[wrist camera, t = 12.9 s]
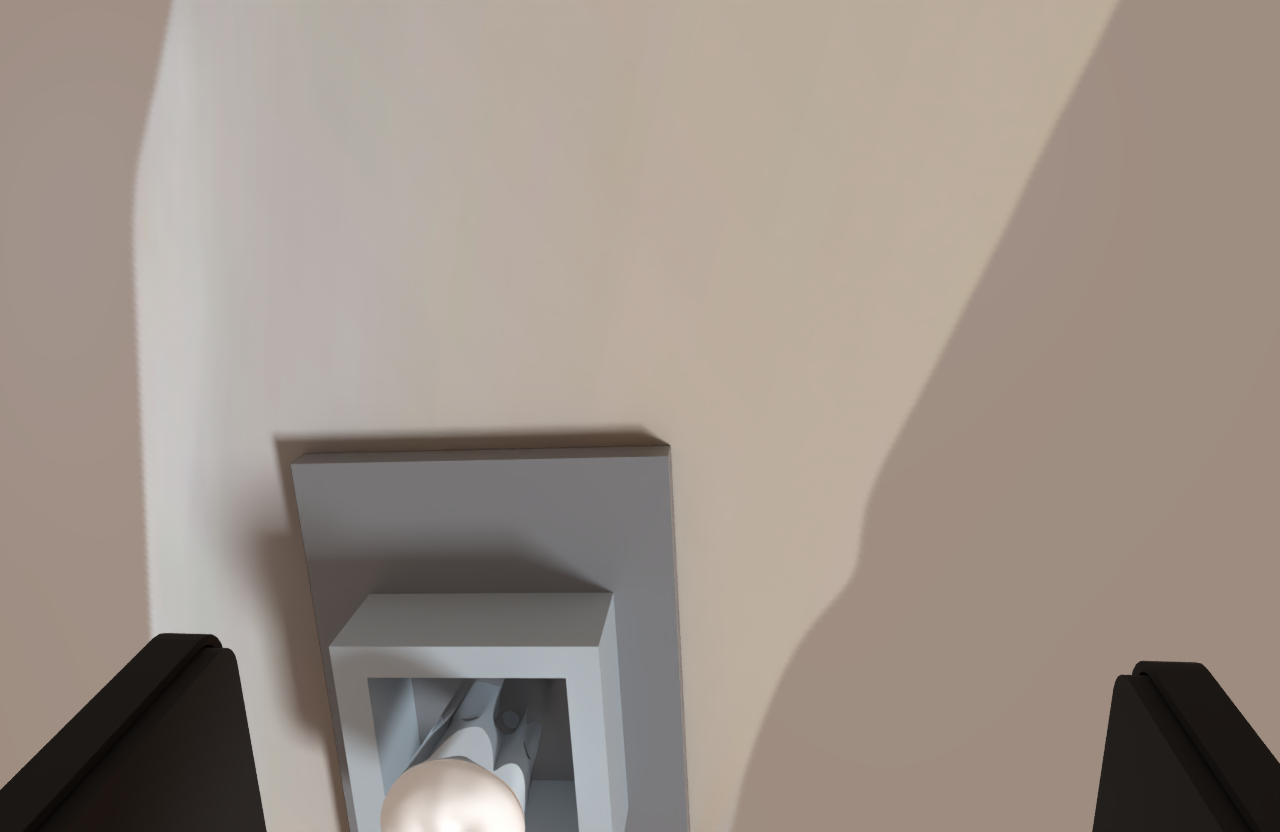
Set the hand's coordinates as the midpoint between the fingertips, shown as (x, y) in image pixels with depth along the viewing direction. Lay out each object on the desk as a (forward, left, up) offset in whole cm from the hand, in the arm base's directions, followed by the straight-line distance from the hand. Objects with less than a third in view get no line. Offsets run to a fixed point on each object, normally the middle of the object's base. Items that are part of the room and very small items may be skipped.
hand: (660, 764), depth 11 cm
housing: (+15, -9, -26) cm, 32 cm away
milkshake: (+15, -9, -25) cm, 31 cm away
